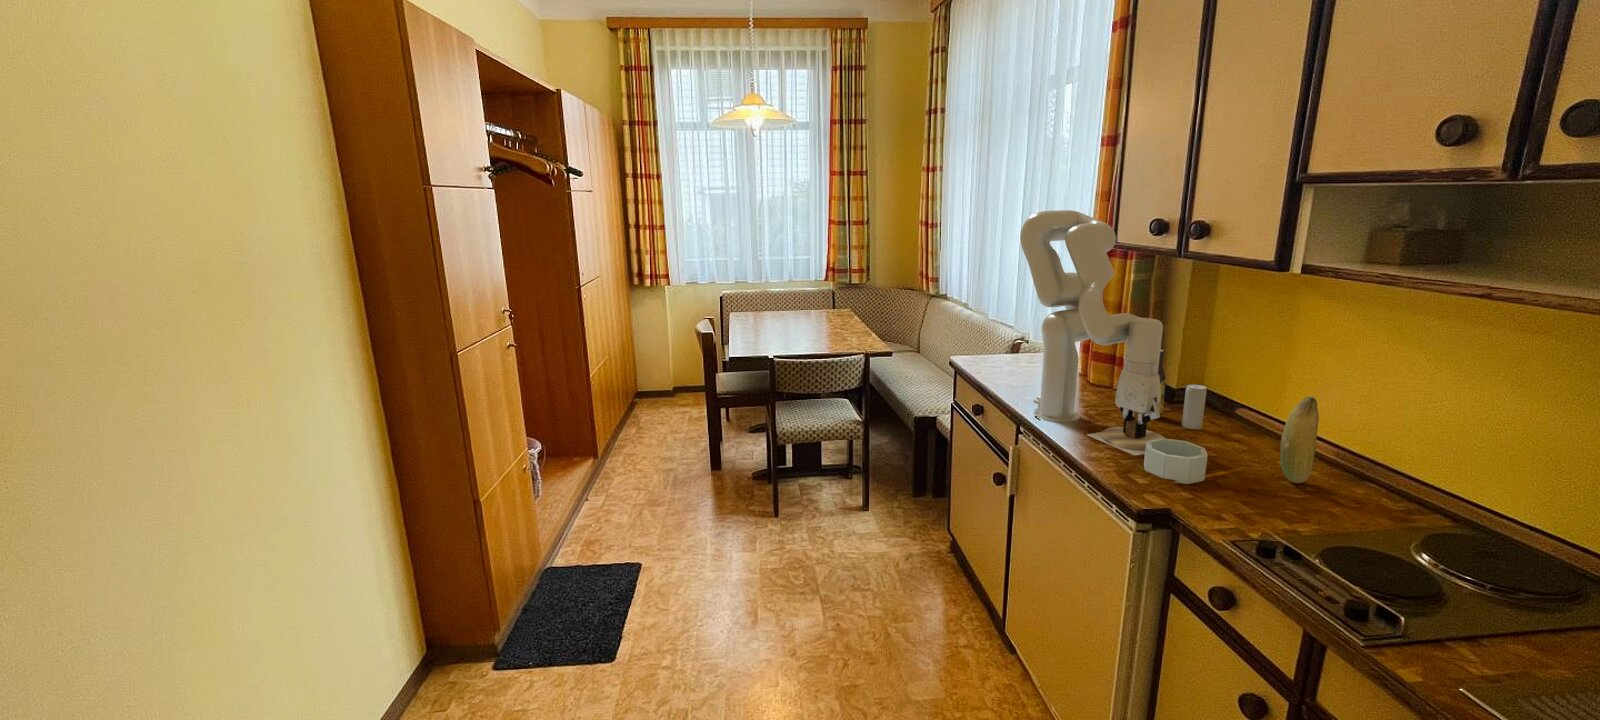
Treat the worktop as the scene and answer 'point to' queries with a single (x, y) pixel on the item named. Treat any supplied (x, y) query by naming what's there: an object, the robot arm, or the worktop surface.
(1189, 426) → the beverage can
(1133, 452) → the mat
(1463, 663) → the worktop surface
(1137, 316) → the robot arm
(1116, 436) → the lid
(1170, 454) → the bowl
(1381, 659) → the worktop surface
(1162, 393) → the sauce bottle
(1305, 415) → the vegetable
